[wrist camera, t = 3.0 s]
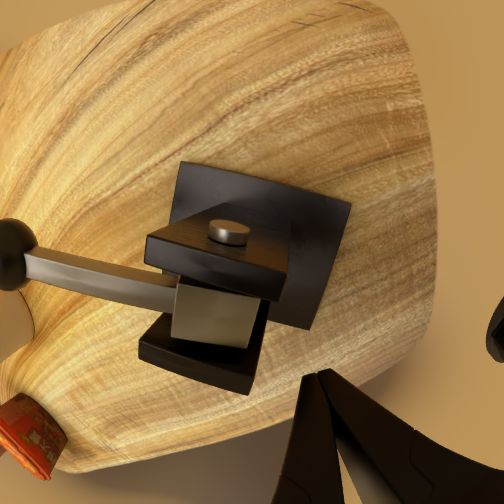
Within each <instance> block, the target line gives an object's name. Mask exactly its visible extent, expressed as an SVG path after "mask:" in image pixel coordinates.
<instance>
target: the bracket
mask: <svg viewBox="0 0 504 504" xmlns="http://www.w3.org/2000/svg"><path fill="white" fill-rule="evenodd" d="M351 205H352V204H351V203H350V202H347V201H344V200H341V199H338V198H334V197H331V196H328V195H324V194H321V193H317V192H314V191H310V190H307V189H303V188H299V187H296V186H292V185H288V184H284V183H281V182H277V181H273V180H269V179H265V178H261V177H257V176H252V175H248V174H244V173H239V172H235V171H231V170H226V169H221V168H217V167H212V166H207V165H202V164H197V163H192V162H186V161H181V162H180V167H179V172H178V177H177V182H176V187H175V192H174V198H173V203H172V209H171V215H170V221H169V225H168V226H166V227H163V228H161V229H159V230H156V231H154V232H152V233H150V234H148V235H147V238H146V246H145V255H144V263H145V264H147V265H150V266H153V267H156V268H159V269H162V274H165V275H170V276H175V277H179V275H182V276H185V277H188V278H191V279H195V280H198V281H201V282H205V283H208V284H211V285H215V286H218V287H222V288H225V289H228V290H232V291H235V292H239V293H242V294H246V295H250V296H253V297H257V298H260V299H261V301H260V304H259V308H258V311H257V315H256V319H255V322H254V325H253V329H252V332H251V336H250V339H249V343H248V346H247V348H246V349H243V348H235V347H228V346H221V345H214V344H207V343H201V342H195V341H189V340H183V339H178V338H172V337H171V336H170V335H171V326H172V317H173V314H170V313H164V312H163V313H162V315H161V316H160V317H159V318H158V319H157V320H156V321H155V322H154V323H153V324H152V325H151V327H150V328H149V329H148V330H147V331H146V332H145V333H144V334H143V335H142V337H141V338H140V339H139V347H138V358H139V359H140V360H142V361H145V362H147V363H150V364H152V365H155V366H157V367H160V368H162V369H165V370H168V371H170V372H173V373H176V374H179V375H181V376H184V377H187V378H190V379H193V380H196V381H199V382H202V383H205V384H208V385H211V386H215V387H218V388H221V389H224V390H228V391H231V392H235V393H239V394H242V395H246V396H248V395H249V393H250V390H251V388H252V385H253V382H254V379H255V375H256V370H257V365H258V361H259V356H260V352H261V347H262V342H263V337H264V333H265V328H266V323H267V320H270V321H273V322H277V323H281V324H285V325H289V326H293V327H297V328H301V329H305V330H310V328H311V325H312V323H313V320H314V318H315V315H316V312H317V310H318V307H319V304H320V301H321V299H322V296H323V293H324V290H325V287H326V285H327V282H328V279H329V276H330V273H331V270H332V267H333V264H334V261H335V258H336V255H337V252H338V249H339V246H340V242H341V239H342V236H343V233H344V229H345V226H346V223H347V219H348V216H349V212H350V209H351Z"/></svg>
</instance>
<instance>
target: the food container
mask: <svg viewBox="0 0 504 504" xmlns="http://www.w3.org/2000/svg"><path fill="white" fill-rule="evenodd" d="M0 444H1V445H2V446H3V447H4V448H5V449H6V450H7V451H8V452H9V453H10V454H11V456H12V457H13V458H14V459H15V460H16V461H18V462H19V463H20V464H21V465H22V466H23V467H24V468H27V469H28V470H29V471H30V472H31V473H32V474H33V475H34V476H36V477H37V478H39V479H41V480H42V479H43V480H48V481H49V480H51V477H50V473H51V471H52V470H53V468H54V466H55V464H56V462H57V460H58V458H59V456H60V455H61V453H62V451H63V449H64V447H65V445H66V444H67V439H66V436H65V435H64V433H63V431H62V430H61V429H60V427H59V426H58V425H57V423H56V422H55V421H54V420H53V419H52V418H51V417H50V415H49V414H48V413H47V412H46V411H45V410H44V409H43V408H42V407H41V406H39V405H38V404H37V403H36V402H35V401H33V400H32V399H31V398H30V397H28V396H26V395H24V394H21V393H20V394H17V395H16V396H15V397H13V398H12V399H10V400H9V401H7V402H6V403H4V404H3V405H1V406H0Z"/></svg>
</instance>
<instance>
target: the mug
mask: <svg viewBox="0 0 504 504" xmlns="http://www.w3.org/2000/svg"><path fill="white" fill-rule="evenodd" d="M33 335H34V325H33V320H32V317H31V314H30V311H29V309H28V306H27V304H26V302H25V300H24V299H23V297H22V295H21V294H20V292H19V291H18V290H17V291H11V292H10V291H3V290H0V363H1V362H3V361H4V360H5V359H6V358H8V357H9V356H10V355H12V354H13V353H14V352H16V351H17V350H18V349H20V348H21V347H23V346H24V345H26V344H27V343H28V342H30V341H31V339H32V338H33Z"/></svg>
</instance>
